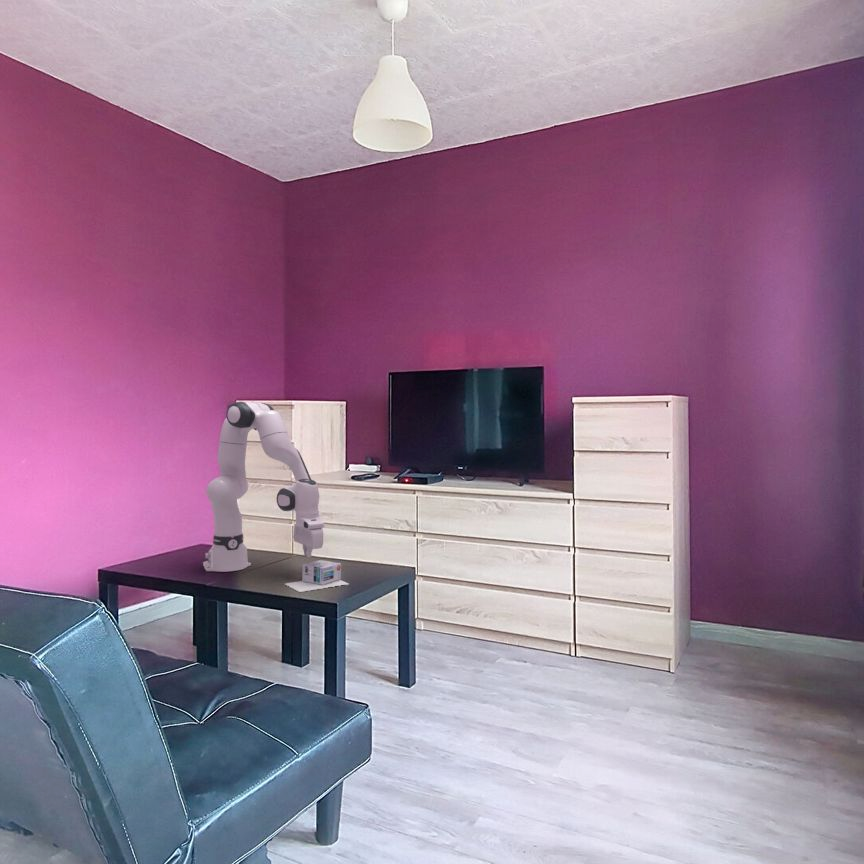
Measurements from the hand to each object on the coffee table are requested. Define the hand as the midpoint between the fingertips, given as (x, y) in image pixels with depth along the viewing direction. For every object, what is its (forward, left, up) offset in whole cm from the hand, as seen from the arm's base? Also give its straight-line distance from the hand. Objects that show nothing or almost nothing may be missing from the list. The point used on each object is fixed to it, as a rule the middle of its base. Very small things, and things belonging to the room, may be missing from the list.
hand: (307, 556), depth 257 cm
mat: (+8, 0, -9) cm, 13 cm away
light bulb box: (0, +1, -5) cm, 5 cm away
